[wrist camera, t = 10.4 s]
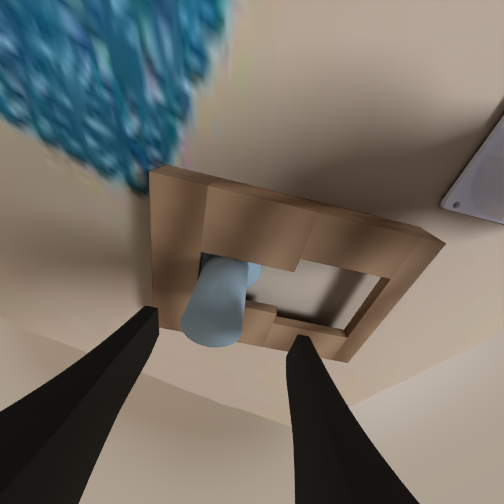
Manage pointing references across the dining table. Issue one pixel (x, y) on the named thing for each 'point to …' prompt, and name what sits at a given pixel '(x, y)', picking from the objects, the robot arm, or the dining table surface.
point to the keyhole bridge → (276, 253)
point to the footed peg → (218, 301)
